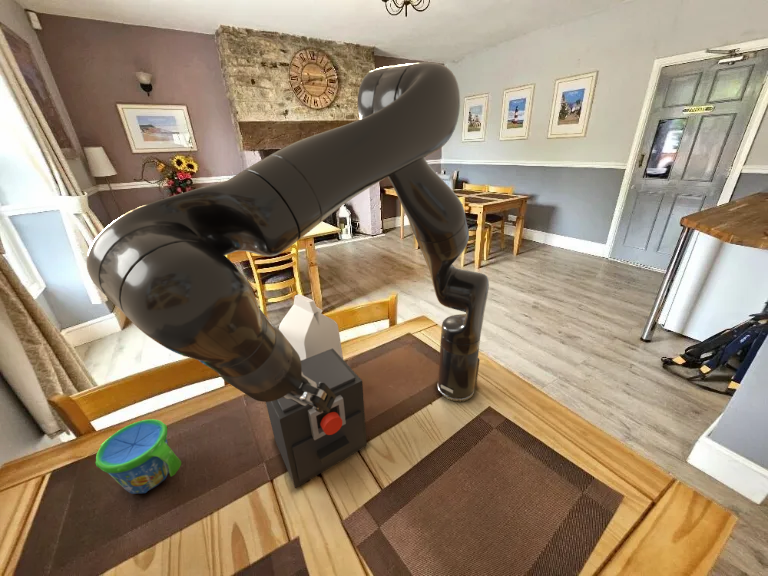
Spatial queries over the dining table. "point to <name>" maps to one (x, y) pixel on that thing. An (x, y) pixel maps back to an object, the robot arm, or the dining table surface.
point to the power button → (331, 423)
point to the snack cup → (138, 456)
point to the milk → (310, 329)
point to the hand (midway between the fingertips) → (298, 395)
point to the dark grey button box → (303, 423)
